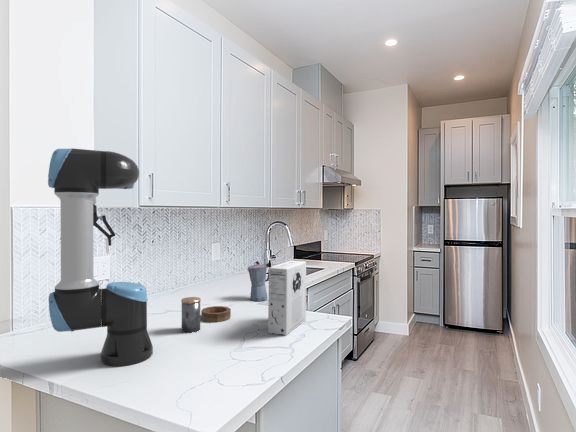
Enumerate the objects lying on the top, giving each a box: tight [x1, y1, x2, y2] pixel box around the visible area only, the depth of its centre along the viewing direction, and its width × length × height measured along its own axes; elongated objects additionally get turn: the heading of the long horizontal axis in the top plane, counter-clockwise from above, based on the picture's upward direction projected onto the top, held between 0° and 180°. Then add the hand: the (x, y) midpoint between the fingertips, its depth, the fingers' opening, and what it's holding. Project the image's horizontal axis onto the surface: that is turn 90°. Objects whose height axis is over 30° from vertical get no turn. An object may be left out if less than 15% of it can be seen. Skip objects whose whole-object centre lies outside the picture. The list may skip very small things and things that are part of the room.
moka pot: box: [246, 260, 272, 302], centre depth 193 cm, size 10×15×20 cm, turn 137°
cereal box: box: [267, 260, 307, 336], centre depth 150 cm, size 22×8×25 cm, turn 157°
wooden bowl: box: [200, 305, 232, 323], centre depth 160 cm, size 12×12×4 cm
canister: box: [180, 296, 202, 334], centre depth 144 cm, size 7×7×12 cm
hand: (89, 255), depth 155 cm, fingers open, 13 cm apart
